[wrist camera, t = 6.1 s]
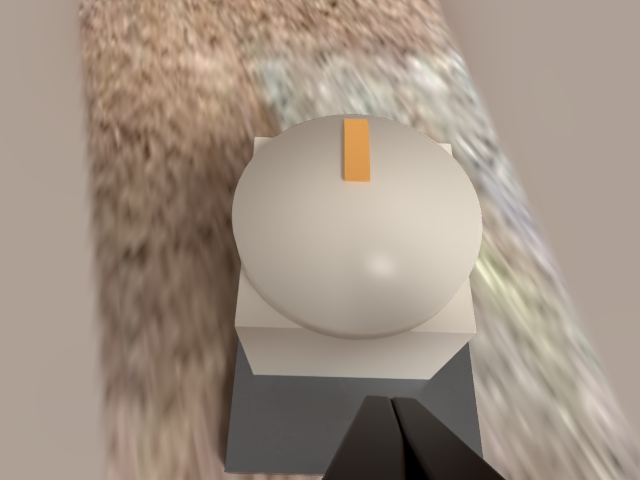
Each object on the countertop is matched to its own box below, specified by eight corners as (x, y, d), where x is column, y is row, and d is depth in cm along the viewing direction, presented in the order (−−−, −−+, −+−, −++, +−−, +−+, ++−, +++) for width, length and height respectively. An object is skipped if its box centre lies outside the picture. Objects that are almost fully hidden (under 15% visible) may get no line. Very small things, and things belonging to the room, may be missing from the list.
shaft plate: (476, 479, 19) (555, 469, 13) (228, 473, 18) (193, 460, 13) (445, 212, 24) (489, 121, 18) (255, 206, 24) (239, 112, 18)
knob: (437, 387, 19) (503, 330, 13) (245, 382, 19) (215, 322, 13) (422, 221, 23) (467, 114, 16) (260, 216, 23) (243, 106, 16)
